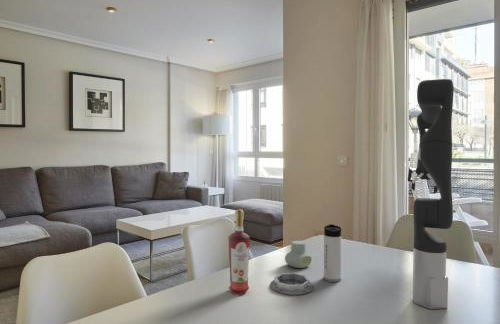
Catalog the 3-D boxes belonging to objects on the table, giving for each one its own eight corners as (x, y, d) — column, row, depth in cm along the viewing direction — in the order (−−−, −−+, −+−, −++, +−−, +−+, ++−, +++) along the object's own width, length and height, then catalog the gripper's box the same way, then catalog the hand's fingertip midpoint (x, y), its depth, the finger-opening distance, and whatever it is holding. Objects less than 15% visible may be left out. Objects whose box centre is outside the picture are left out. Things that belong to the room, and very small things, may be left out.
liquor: (230, 297, 113) (230, 212, 112) (226, 288, 120) (226, 208, 119) (252, 294, 115) (252, 211, 114) (246, 286, 122) (246, 207, 121)
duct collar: (319, 293, 116) (319, 286, 116) (276, 296, 113) (276, 289, 113) (304, 277, 130) (304, 270, 130) (266, 279, 128) (266, 272, 128)
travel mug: (339, 276, 132) (339, 224, 131) (342, 282, 125) (342, 228, 124) (322, 275, 132) (323, 224, 131) (324, 282, 126) (325, 227, 125)
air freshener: (296, 271, 136) (296, 246, 136) (281, 266, 143) (281, 242, 142) (314, 265, 143) (314, 242, 143) (299, 260, 150) (299, 238, 149)
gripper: (408, 158, 152) (405, 192, 157) (444, 161, 145) (441, 197, 150) (410, 153, 158) (408, 186, 163) (446, 156, 151) (442, 190, 156)
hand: (424, 191), depth 156 cm, fingers open, 8 cm apart
